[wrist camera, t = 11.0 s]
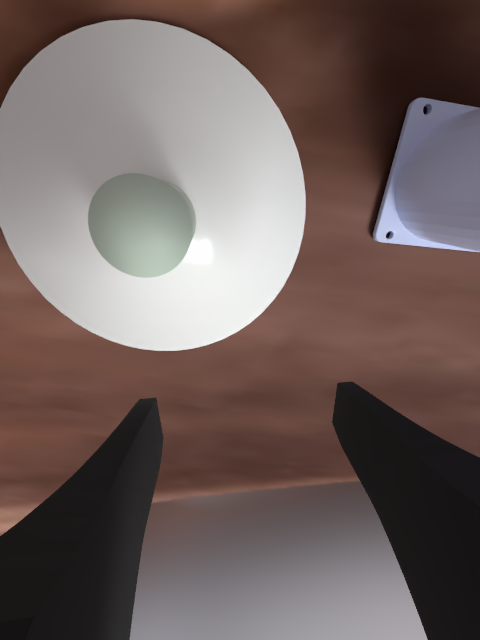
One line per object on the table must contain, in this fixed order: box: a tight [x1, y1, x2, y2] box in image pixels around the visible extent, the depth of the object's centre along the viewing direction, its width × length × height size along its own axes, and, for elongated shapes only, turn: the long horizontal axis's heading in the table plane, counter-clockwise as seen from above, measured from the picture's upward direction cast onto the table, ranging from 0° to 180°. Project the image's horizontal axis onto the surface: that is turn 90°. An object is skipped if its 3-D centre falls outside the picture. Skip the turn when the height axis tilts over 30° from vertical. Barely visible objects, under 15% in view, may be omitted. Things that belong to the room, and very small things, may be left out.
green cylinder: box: [88, 173, 196, 278], centre depth 15 cm, size 4×4×5 cm
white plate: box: [0, 19, 305, 351], centre depth 17 cm, size 18×18×1 cm
